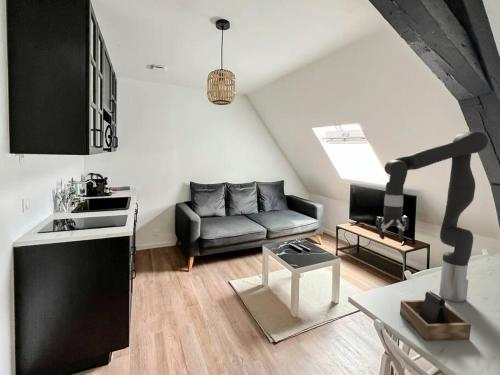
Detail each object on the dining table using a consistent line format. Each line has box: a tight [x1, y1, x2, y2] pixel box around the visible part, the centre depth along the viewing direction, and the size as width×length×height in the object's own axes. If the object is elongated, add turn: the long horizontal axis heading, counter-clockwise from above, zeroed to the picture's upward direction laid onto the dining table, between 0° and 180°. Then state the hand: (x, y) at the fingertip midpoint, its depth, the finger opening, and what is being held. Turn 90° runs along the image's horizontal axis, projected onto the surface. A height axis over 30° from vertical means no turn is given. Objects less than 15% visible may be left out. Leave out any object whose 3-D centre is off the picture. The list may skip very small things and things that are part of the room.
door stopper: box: [419, 290, 449, 324], centre depth 102 cm, size 9×6×12 cm, turn 100°
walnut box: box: [399, 299, 472, 342], centre depth 103 cm, size 16×16×6 cm
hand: (391, 238), depth 122 cm, fingers open, 8 cm apart
